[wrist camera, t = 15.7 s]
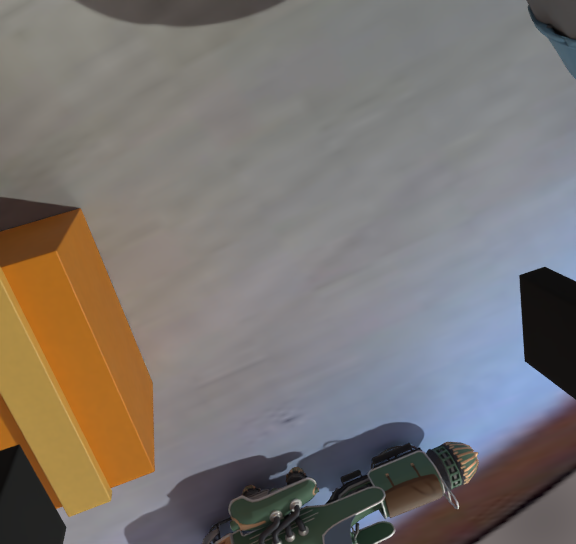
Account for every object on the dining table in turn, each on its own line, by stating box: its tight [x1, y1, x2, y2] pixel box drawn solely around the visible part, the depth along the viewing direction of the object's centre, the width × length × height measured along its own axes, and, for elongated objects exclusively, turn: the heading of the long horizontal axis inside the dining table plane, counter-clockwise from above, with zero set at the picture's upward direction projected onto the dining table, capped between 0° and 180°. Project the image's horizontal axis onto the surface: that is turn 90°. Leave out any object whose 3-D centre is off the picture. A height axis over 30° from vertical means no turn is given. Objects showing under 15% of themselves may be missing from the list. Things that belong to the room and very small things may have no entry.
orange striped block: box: [0, 208, 155, 517], centre depth 31 cm, size 14×8×11 cm, turn 14°
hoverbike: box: [203, 442, 479, 544], centre depth 43 cm, size 10×25×8 cm, turn 106°
